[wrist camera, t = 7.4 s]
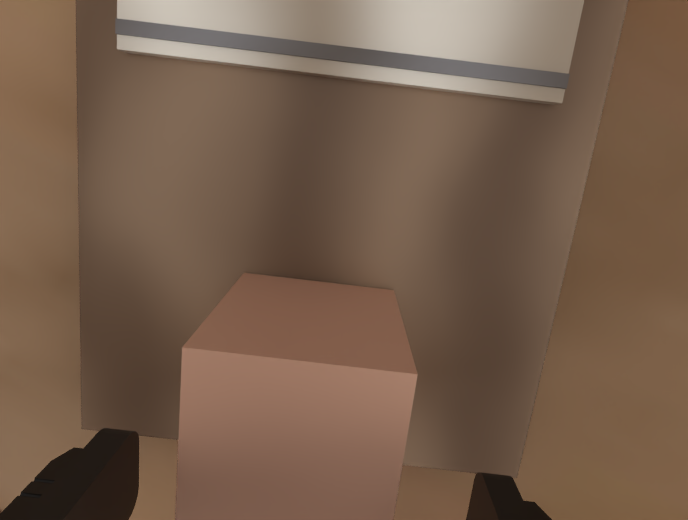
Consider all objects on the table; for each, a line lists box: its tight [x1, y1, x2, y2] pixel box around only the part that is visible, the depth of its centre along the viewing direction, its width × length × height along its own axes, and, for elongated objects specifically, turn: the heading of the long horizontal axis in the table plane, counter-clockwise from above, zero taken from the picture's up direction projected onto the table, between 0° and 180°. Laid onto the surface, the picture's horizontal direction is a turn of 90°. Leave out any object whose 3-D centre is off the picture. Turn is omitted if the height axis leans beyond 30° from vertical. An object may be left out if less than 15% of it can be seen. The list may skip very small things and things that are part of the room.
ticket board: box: [76, 0, 628, 478], centre depth 15 cm, size 16×24×2 cm, turn 173°
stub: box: [175, 273, 418, 520], centre depth 14 cm, size 5×6×6 cm
